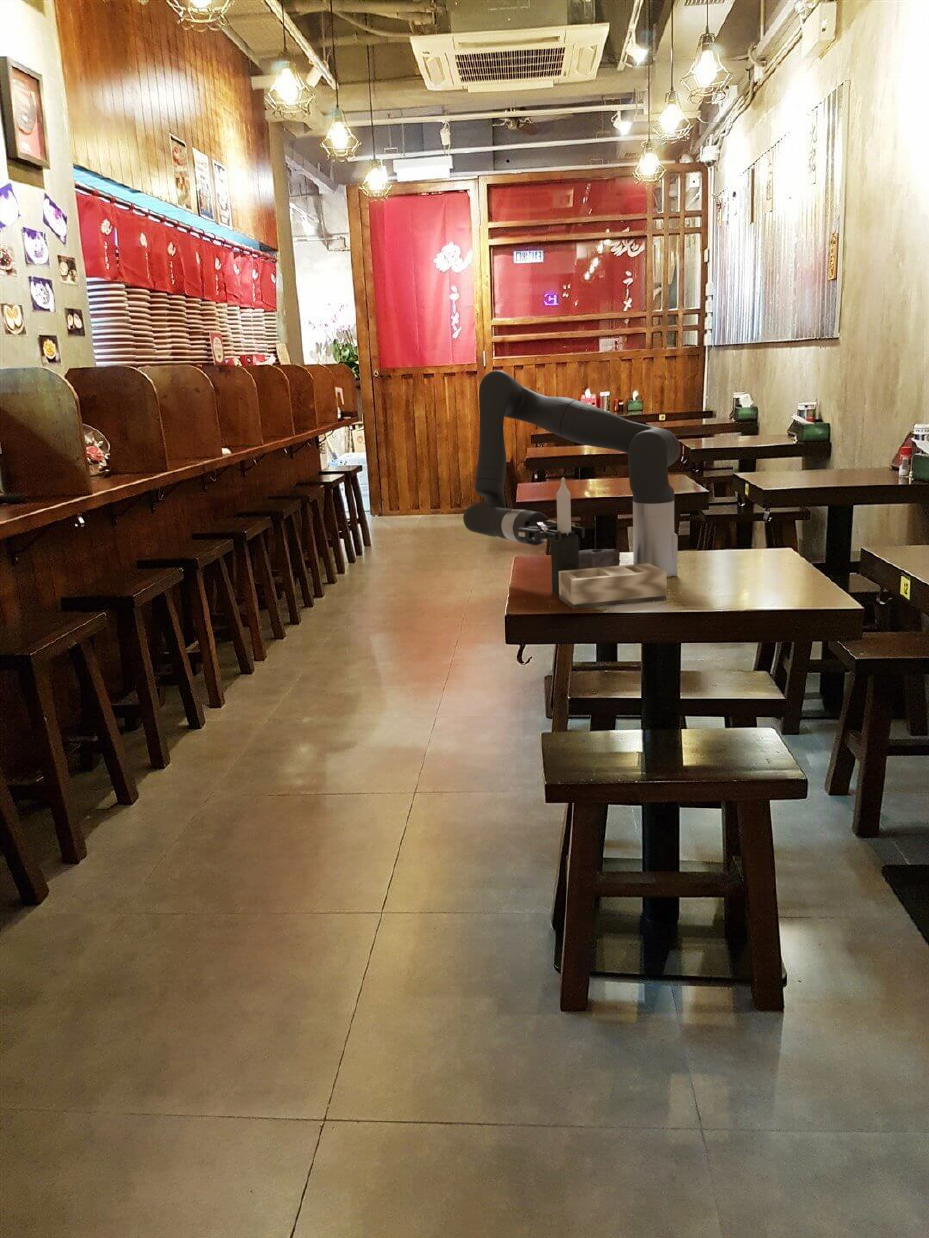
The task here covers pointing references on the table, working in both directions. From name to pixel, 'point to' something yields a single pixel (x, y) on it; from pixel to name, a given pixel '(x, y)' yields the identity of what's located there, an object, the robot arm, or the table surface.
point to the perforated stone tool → (598, 558)
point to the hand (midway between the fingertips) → (571, 535)
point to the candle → (564, 539)
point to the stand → (612, 585)
